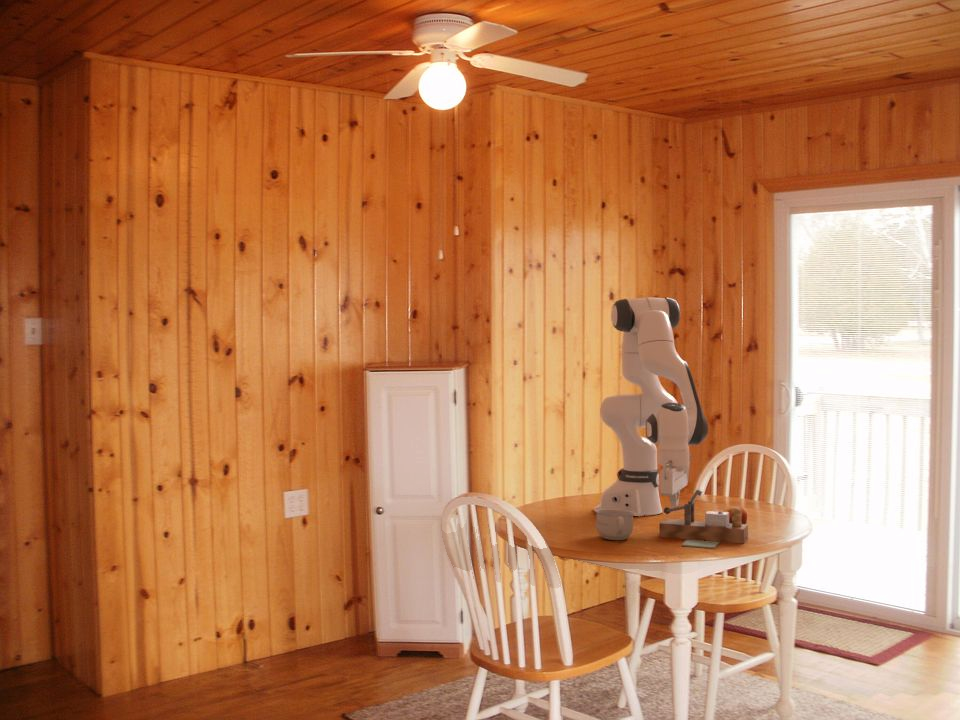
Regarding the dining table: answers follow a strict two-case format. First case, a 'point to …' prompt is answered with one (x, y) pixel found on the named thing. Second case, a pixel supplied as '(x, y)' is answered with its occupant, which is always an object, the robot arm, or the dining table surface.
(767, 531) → the dining table surface
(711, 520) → the box with chrome knob
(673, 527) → the brown lever base
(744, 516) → the fruit
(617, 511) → the teacup
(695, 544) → the mat
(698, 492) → the lever
